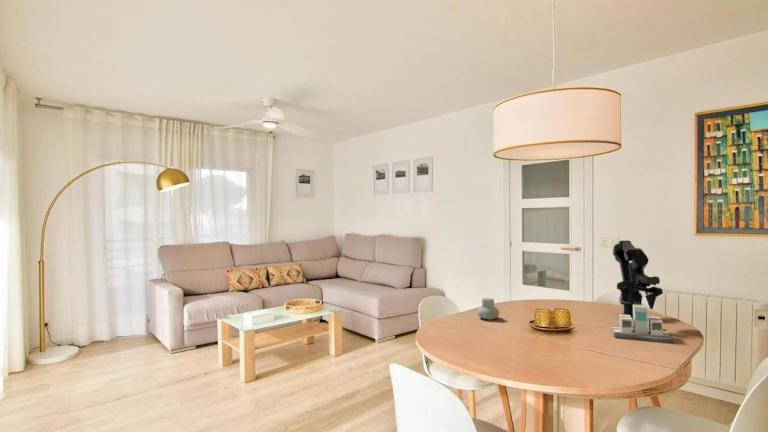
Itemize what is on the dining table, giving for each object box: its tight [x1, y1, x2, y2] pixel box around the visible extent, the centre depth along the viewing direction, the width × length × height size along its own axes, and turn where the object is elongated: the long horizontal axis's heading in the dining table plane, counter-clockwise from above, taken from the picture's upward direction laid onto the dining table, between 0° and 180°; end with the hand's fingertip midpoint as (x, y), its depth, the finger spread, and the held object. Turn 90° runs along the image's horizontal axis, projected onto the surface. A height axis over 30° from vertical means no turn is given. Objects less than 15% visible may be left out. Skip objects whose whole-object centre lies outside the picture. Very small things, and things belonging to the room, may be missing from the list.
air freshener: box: [476, 297, 500, 321], centre depth 201 cm, size 11×8×10 cm
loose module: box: [632, 304, 648, 334], centre depth 167 cm, size 6×4×11 cm
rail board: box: [611, 313, 674, 344], centre depth 167 cm, size 14×20×8 cm
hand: (642, 307), depth 177 cm, fingers open, 9 cm apart
